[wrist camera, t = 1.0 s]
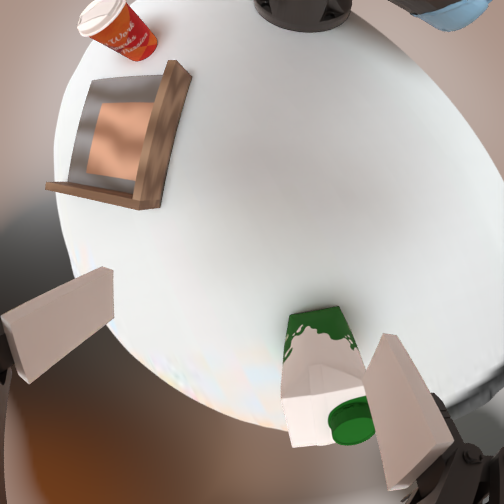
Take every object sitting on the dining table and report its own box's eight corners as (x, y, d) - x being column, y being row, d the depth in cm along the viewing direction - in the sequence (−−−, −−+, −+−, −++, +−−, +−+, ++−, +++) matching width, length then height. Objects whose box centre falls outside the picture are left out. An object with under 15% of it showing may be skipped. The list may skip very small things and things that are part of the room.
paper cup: (123, 73, 33) (70, 43, 20) (124, 41, 32) (78, 8, 18) (164, 56, 32) (118, 14, 18) (164, 24, 31) (123, -19, 17)
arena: (94, 81, 34) (73, 71, 28) (192, 76, 32) (176, 60, 26) (68, 188, 39) (45, 189, 33) (160, 207, 37) (138, 210, 31)
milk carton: (349, 350, 37) (378, 452, 18) (291, 360, 39) (284, 467, 19) (344, 298, 36) (385, 391, 16) (280, 309, 37) (267, 411, 18)
